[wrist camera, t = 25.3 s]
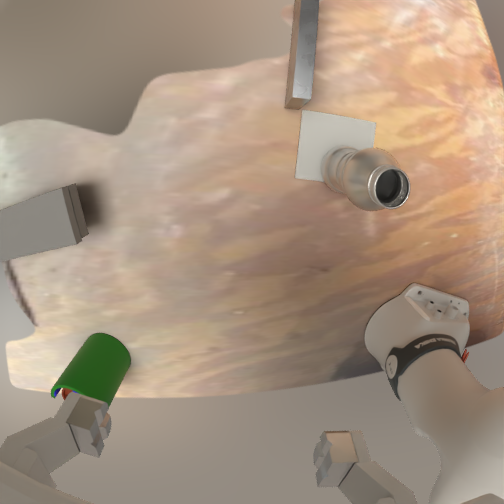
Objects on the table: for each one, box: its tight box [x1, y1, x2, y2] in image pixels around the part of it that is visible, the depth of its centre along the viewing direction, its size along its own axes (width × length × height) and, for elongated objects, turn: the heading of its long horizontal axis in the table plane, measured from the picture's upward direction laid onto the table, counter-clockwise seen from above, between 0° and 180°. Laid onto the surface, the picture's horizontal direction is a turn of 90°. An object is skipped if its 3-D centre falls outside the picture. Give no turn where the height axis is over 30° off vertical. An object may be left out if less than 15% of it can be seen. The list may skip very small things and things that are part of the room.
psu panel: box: [285, 0, 319, 110], centre depth 34 cm, size 2×18×12 cm, turn 174°
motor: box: [51, 333, 131, 408], centre depth 48 cm, size 10×9×20 cm
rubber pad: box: [295, 110, 376, 182], centre depth 44 cm, size 11×10×1 cm
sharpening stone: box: [0, 183, 89, 262], centre depth 44 cm, size 25×8×11 cm, turn 100°
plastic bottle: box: [321, 145, 410, 211], centre depth 35 cm, size 6×7×20 cm
